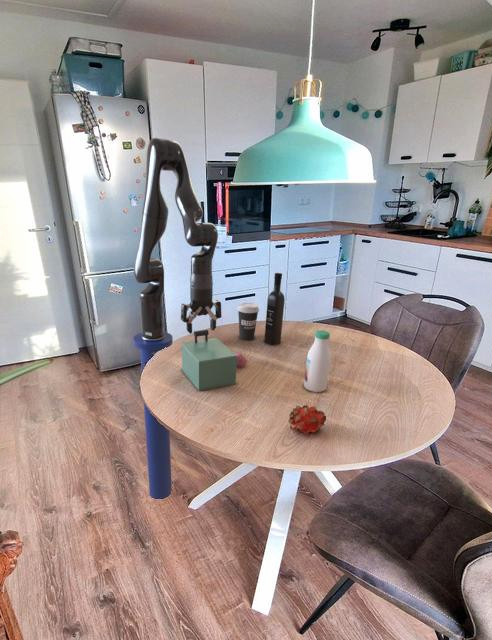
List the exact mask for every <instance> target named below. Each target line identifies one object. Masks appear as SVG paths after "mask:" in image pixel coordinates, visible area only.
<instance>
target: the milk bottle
mask: <svg viewBox="0 0 492 640" xmlns="http://www.w3.org/2000/svg"><path fill="white" fill-rule="evenodd" d="M330 333H331V332H329V331H327V330H323V329H322V330H321V329H319V330H316V331H315V332H314V342H313V344H312V345H311V346H310V348H309V350H308V353H307V356H306V361H305V362H306V363H305V370H304V377H303V387H304V389H306V390H307V391H310V392H315V393H321V392H324V391H326V389H327V387H328V381H329V375H330V368H331V361H332V360H331V359H332V354H331V350H330V346H329V340H330V337H331V334H330Z"/></svg>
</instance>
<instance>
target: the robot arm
mask: <svg viewBox="0 0 492 640" xmlns="http://www.w3.org/2000/svg"><path fill="white" fill-rule="evenodd" d="M145 161H146V163H145V164H146V165H145V187H144V196H143V204H142V210H141V211H142V212H141V220H140V230H139V231H140V232H139V238H138V244H137V249H136V253H135V257H134V261H133V276H134V279H135V281H136V282H137V283H139V284H147V285H146V286H145V287H144V288H143V289H142V290H140V292H139V306H140V309H139V310H140V323H141V326H140V327H141V333H142V339H143V340H145V341H159V340H162V339H164V332H165V328H164V327H165V326H164V303H163V302H164V297H163V295H164V292H165V267H164V264H163V262H162V260H161V259H160V258H159V257H152V254H153V252H154V249H155V247H156V246H157V244H158V243H159V241H160V240H161V239H162V237H163V236H164V234H165V232H166V229H167V224H168V218H169V207H168V204H167V201H166V199H165V196H164V194H163V191H162V188H161V173H162V171H165V172H172V173H173V175H174V176H175V177H176V178H175V179H176V187H175V191H174V201H175V205H176V207H177V209H178V211H179V214H180V216H181V220H182V225H183V234H184V240H185V242H186V243H187V244H188V245H189V246H191V247H195V248H197V247H201V248H200V250H199V252H196V253H193V254H192V255H191V257H190V278H189V281H190V282H189V284H190V285H189V288H190V289H189V295H190V298H189V299H190V302H189V303H181V305H180V320H181V321H182V322H183V323H185V324H186V331H187V332H188V333H189V334H193V323H192V322H193V321H194V320H195V319H196V318H197V317H201V316H207V315H208V316H209V317H210V330H211V331H215V330H216V329H217V320H218V319H221V318H222V302H221V301H220V300H218V299H216V300H215V301H213V295H214V294H213V293H214V290H213V289H214V287H213V286H214V279H213V258H214V255H215V251H216V248H217V244H218V240H219V233H218V229H217V226H216V225H215V224H214V223H212V222H199V221H200V220H201V219H202V218H203V216H204V210H203V208H202V205H201V203H200V202H199V199H198V197H197V194H196V192H195V190H194V187H193V184H192V180H191V176H190V171H189V167H188V163H187V160H186V157H185V153H184V150H183V148H182V145H181V144H180V143H179V142H178V141H175V140H172V139H166V138H158V137H153V138H152V139H150V140H149V143H148V145H147V150H146V160H145ZM213 307H214V310H215V313H214V311H212V309H213ZM189 309H190V311H189ZM188 311H189V313H188Z"/></svg>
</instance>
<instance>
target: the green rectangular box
mask: <svg viewBox="0 0 492 640" xmlns="http://www.w3.org/2000/svg"><path fill="white" fill-rule="evenodd" d="M237 366H238V365H237V358H231V359H225V360H218V361H212V362H206V363H200V364H199V363H198V362H197V361H196V360H195V359H194V358H193V357H192V356H191V355H190V353H189V352H188V351H187V350H186V349H185V348H184V347H183V346H182V345H181V371H182V372H183V373H184V374H185V376H186V377H187V378H188V379H189V380H190V382H191V383H192V385H194V387H195V388H196V389H197V390H198V392H199V391H204V390H210V389H215V388H216V389H217V388H219V387H220V388H221V387H226V386H229V385H230V386H231V385H236V384H237Z"/></svg>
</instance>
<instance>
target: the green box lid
mask: <svg viewBox="0 0 492 640" xmlns="http://www.w3.org/2000/svg"><path fill="white" fill-rule="evenodd" d="M209 334H210V333H209V329H201V330H194V331H193V337H194V340H189V341H181V342H180V345H181V347H182V346H183V347H184V348H185V349H186V350H187V351H188V352H189V353H190V355H191V356H192V357H193V358H194V359H195V360H196V361H197V362H198V363H199V364H200V363H206V362H212V361H218V360H225V359H231V358H237V355H236V354H235V352H234V351H232V350H231V349H230V348H229V347H227V346H226V344H224V343H223V342H222V341H221V340H219V339H218V338H217V337H212V338H208V336H209ZM199 337H204V339H198V338H199Z"/></svg>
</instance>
